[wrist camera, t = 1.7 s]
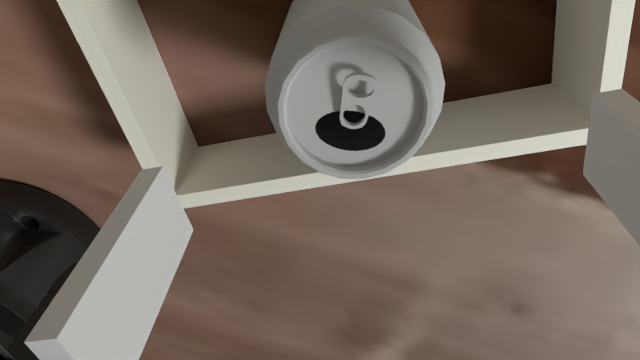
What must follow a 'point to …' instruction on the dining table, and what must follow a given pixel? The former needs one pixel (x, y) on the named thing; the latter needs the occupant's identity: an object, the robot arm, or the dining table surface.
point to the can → (354, 85)
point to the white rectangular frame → (284, 166)
